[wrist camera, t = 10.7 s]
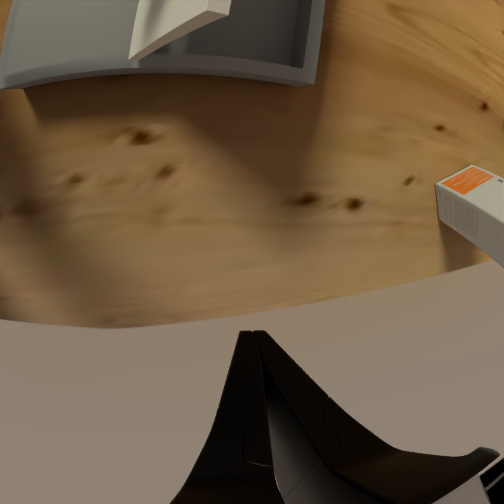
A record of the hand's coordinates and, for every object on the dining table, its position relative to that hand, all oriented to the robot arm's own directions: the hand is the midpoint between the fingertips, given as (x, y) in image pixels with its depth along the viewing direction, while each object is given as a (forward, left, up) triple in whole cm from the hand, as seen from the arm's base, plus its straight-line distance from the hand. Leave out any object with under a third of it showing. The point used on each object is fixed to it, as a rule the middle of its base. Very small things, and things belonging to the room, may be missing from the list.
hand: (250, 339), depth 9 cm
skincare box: (+22, +4, -13) cm, 26 cm away
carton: (-6, +18, -13) cm, 23 cm away
